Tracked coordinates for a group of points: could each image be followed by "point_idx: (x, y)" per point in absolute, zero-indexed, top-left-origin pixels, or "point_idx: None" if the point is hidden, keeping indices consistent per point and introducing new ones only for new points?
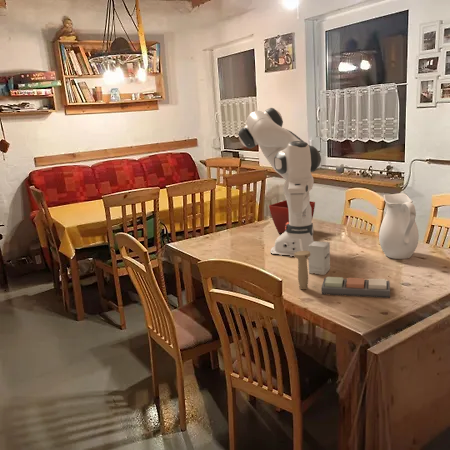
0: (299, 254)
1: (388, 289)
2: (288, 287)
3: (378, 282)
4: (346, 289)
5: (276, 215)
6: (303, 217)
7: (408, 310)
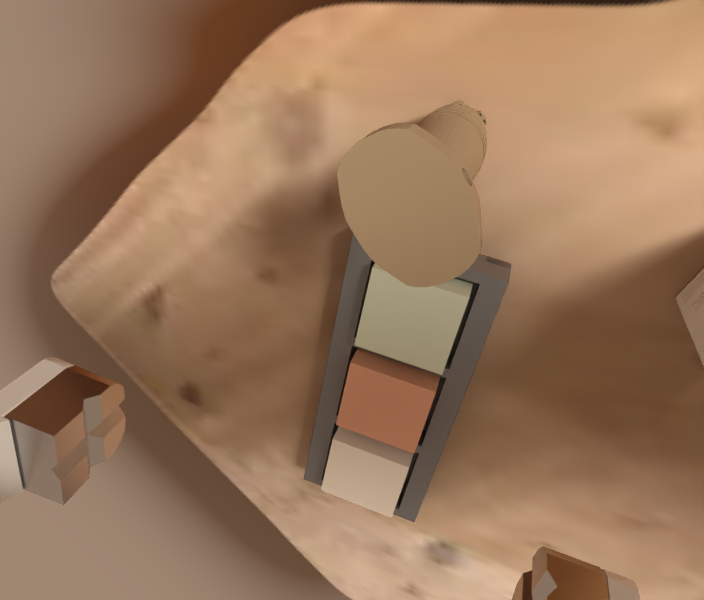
0: (364, 180)
1: (321, 482)
2: (501, 18)
3: (356, 480)
4: (331, 343)
5: None
6: (538, 567)
7: (217, 462)
